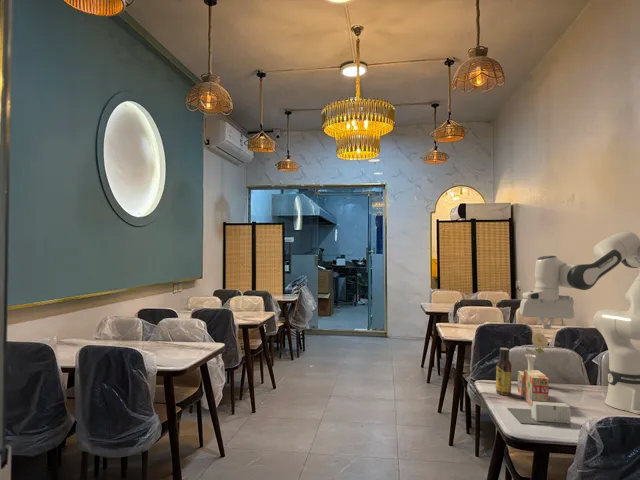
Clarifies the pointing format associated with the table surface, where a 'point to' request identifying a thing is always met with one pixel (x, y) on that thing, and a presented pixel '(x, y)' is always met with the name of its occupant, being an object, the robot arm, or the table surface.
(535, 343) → the flower in vase
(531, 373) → the stack of blocks
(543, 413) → the skincare box
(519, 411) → the placemat
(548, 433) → the table surface
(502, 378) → the sauce bottle
